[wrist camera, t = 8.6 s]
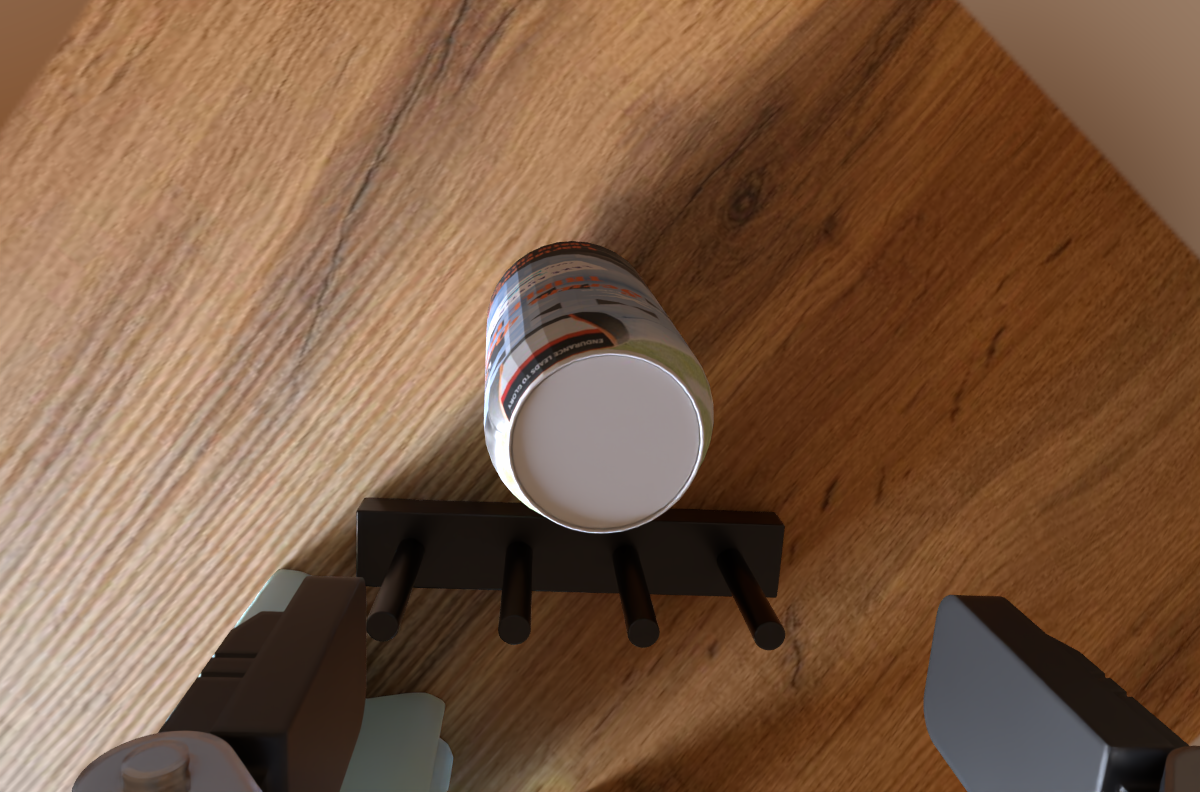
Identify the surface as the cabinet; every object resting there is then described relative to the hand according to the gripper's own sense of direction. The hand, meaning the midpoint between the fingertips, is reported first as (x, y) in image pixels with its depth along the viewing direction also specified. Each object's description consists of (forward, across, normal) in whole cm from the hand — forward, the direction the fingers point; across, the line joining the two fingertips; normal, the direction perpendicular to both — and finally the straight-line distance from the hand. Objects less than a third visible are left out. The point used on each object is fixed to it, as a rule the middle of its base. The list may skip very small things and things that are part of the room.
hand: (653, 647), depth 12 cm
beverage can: (+22, 0, -1) cm, 22 cm away
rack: (+21, 0, +7) cm, 22 cm away
